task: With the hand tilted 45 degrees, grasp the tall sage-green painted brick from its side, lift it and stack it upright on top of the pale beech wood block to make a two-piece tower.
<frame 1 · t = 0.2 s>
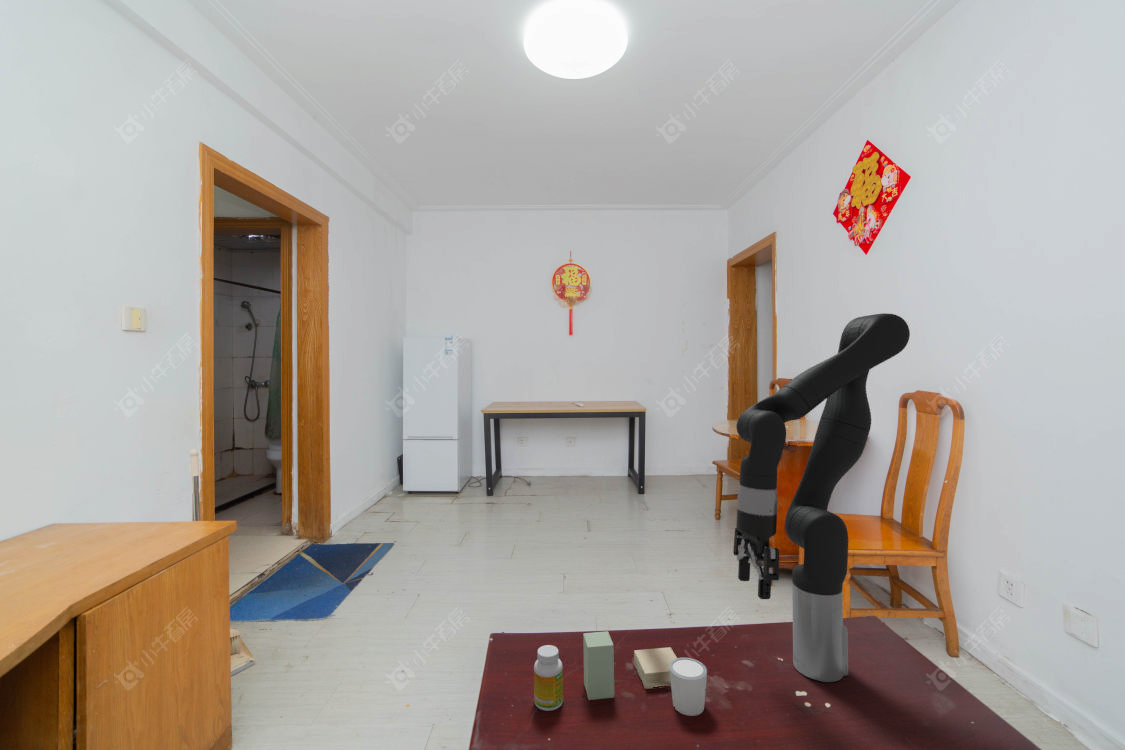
hand: (753, 588, 99), 18 cm above the table, tool pointing down, fingers open, 8 cm apart
supplement bottle: (548, 703, 92), on the table
beech block: (658, 674, 100), on the table
white cup: (688, 706, 91), on the table
sage brick: (598, 690, 95), on the table
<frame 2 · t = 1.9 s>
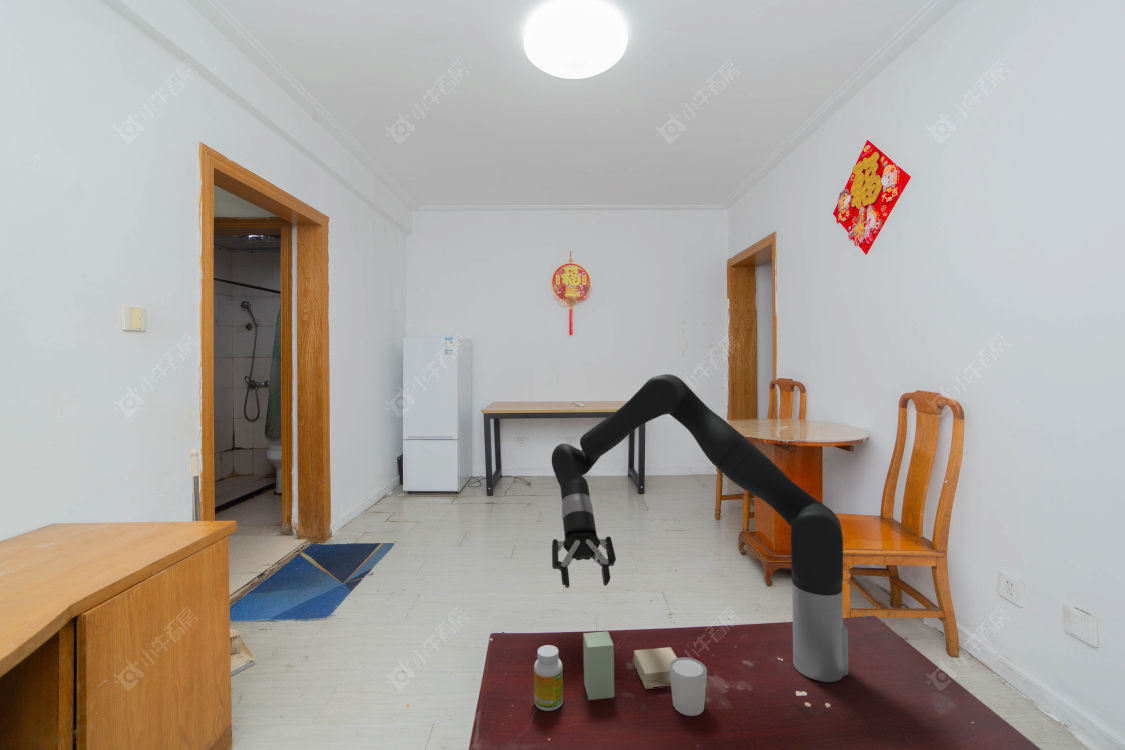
hand: (587, 585, 106), 15 cm above the table, tool tilted 45°, fingers open, 8 cm apart
nothing on the table moved.
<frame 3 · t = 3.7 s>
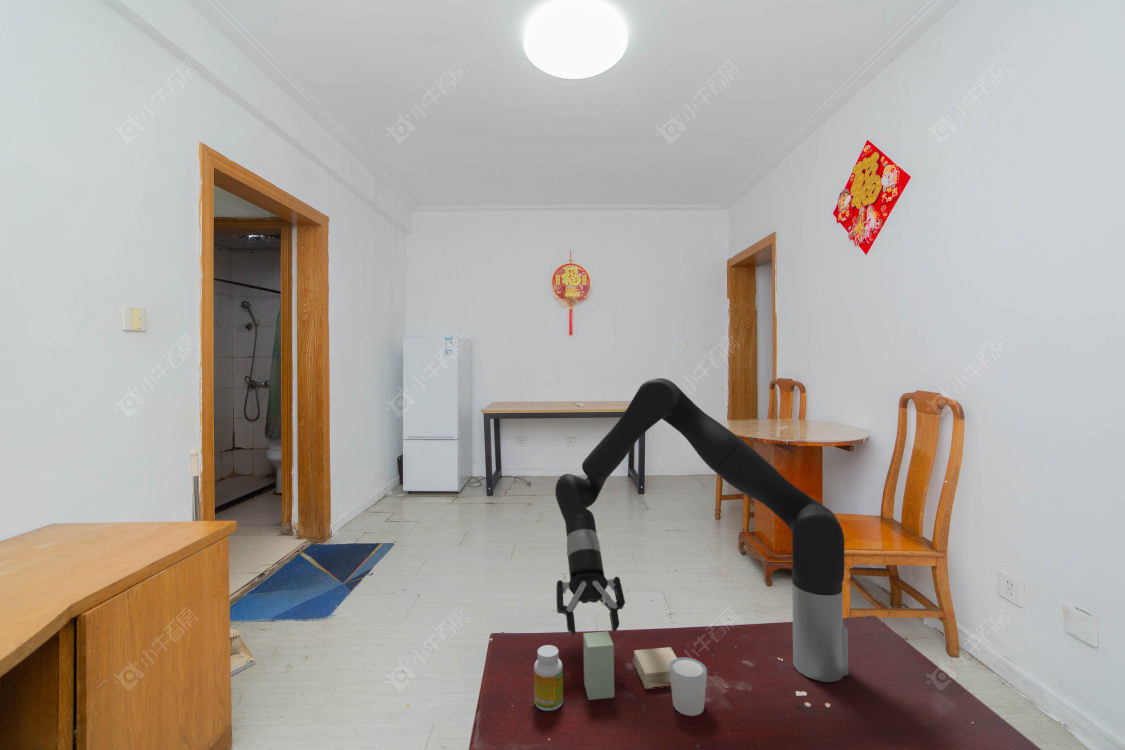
hand: (594, 632, 99), 9 cm above the table, tool tilted 45°, fingers open, 8 cm apart
nothing on the table moved.
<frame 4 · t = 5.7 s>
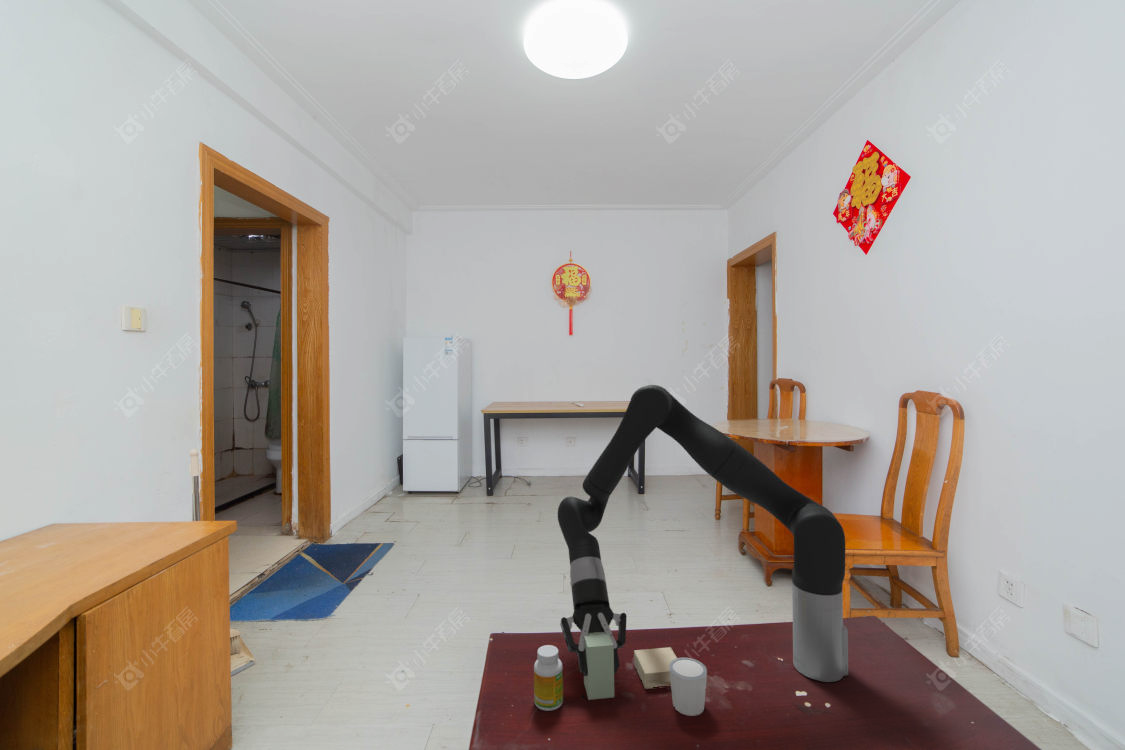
hand: (600, 673, 93), 4 cm above the table, tool tilted 45°, fingers closed on sage brick, 5 cm apart
sage brick: (598, 690, 95), on the table, touching gripper
everything else where it was.
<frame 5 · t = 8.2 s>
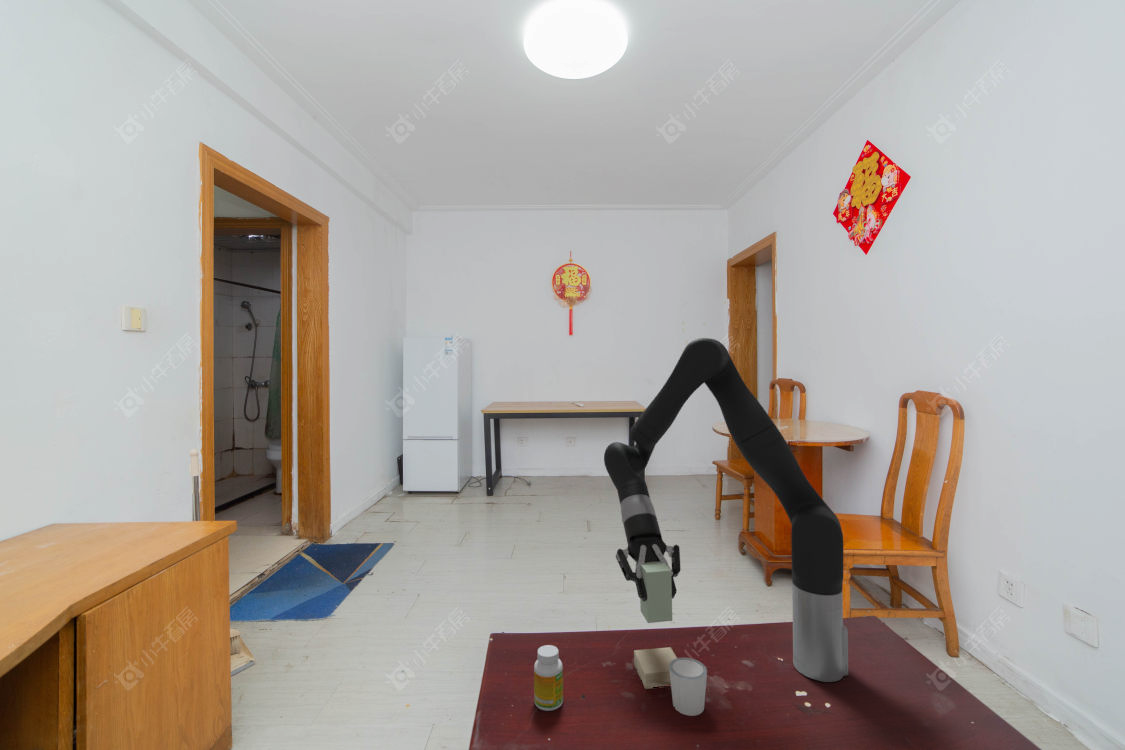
hand: (658, 598, 97), 17 cm above the table, tool tilted 45°, fingers closed on sage brick, 5 cm apart
sage brick: (656, 615, 99), point 12 cm above the table, touching gripper
everything else where it was.
when the fingers open (8 cm above the table, at t = 11.0 s): sage brick stays where it is, resting on beech block.
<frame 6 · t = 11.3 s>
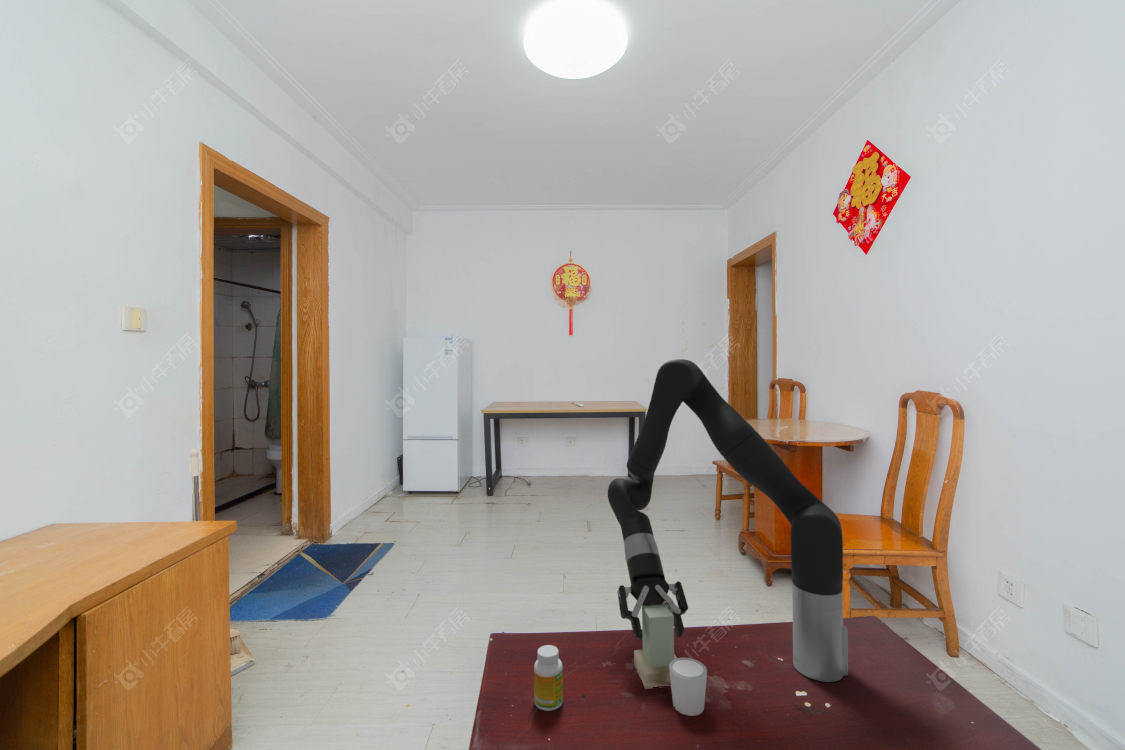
hand: (660, 637, 98), 8 cm above the table, tool tilted 45°, fingers open, 8 cm apart
sage brick: (658, 659, 100), point 3 cm above the table, touching beech block
everything else where it was.
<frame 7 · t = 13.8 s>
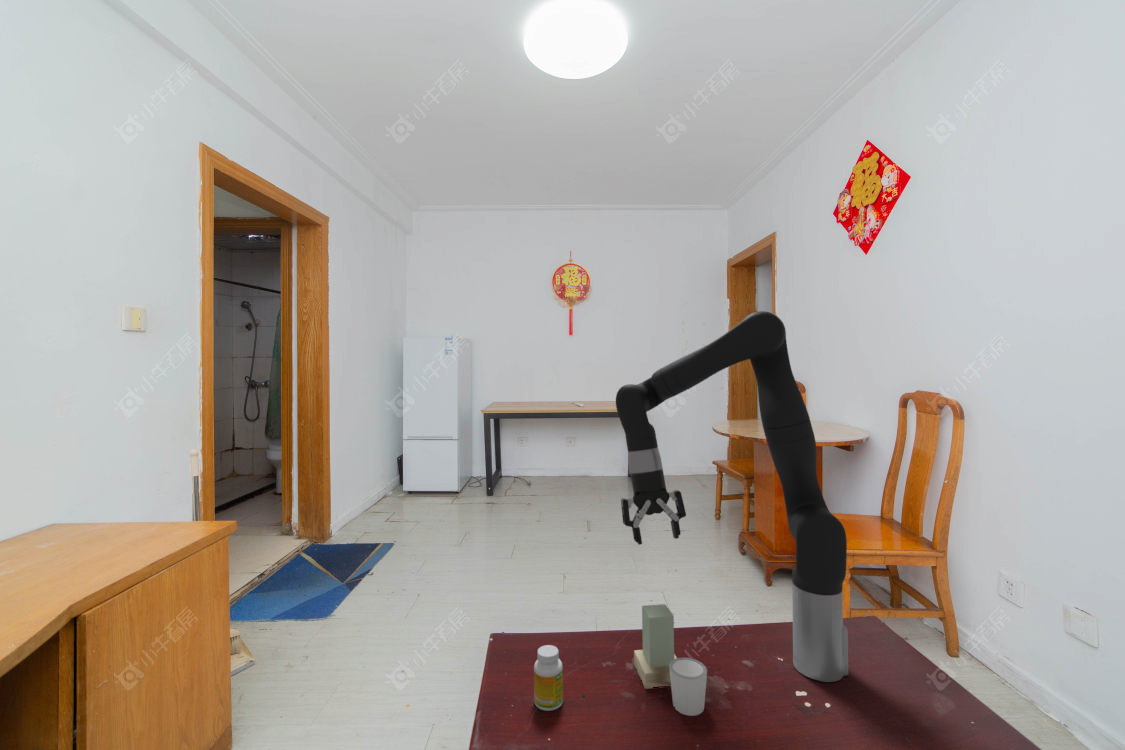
hand: (658, 540, 111), 23 cm above the table, tool pointing down, fingers open, 8 cm apart
nothing on the table moved.
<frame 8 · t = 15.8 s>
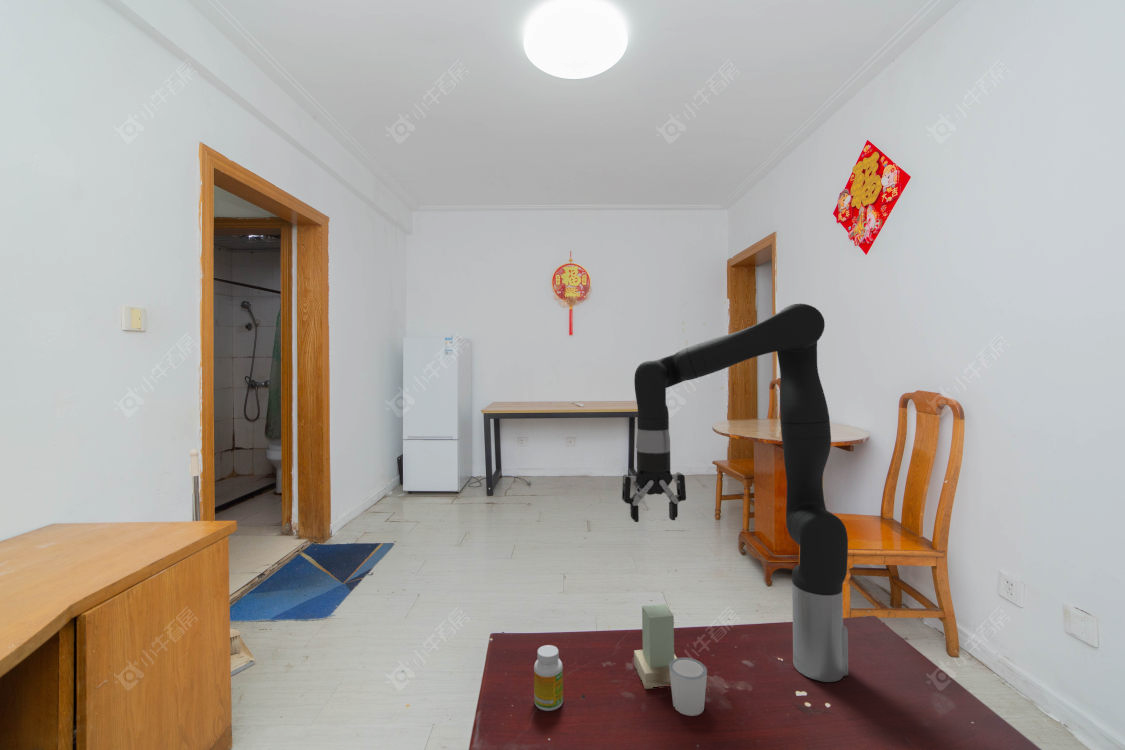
hand: (654, 520, 111), 28 cm above the table, tool pointing down, fingers open, 8 cm apart
nothing on the table moved.
at the end: sage brick 0.1 cm from the beech block (horizontally); sage brick tilted 0°; sage brick 0.1 cm off-centre on the beech block, point 3.0 cm above the beech block's base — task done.
